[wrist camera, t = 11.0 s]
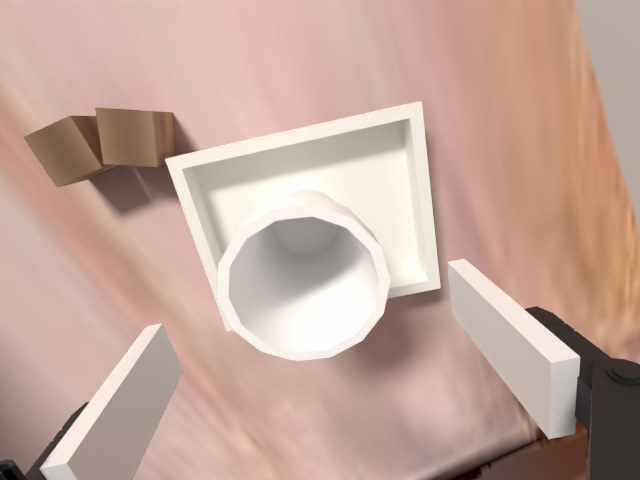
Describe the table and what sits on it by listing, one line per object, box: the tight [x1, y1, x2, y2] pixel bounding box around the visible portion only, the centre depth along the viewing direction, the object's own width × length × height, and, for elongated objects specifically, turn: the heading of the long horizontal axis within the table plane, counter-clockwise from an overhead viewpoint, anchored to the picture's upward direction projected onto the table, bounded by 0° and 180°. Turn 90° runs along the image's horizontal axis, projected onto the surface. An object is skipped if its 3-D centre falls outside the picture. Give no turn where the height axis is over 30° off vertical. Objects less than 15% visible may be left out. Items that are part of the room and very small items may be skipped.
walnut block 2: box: [95, 108, 176, 167], centre depth 27 cm, size 4×4×4 cm
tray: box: [165, 101, 441, 331], centre depth 30 cm, size 20×16×4 cm
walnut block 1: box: [23, 116, 120, 187], centre depth 27 cm, size 4×4×4 cm
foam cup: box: [218, 188, 391, 361], centre depth 25 cm, size 10×9×13 cm
